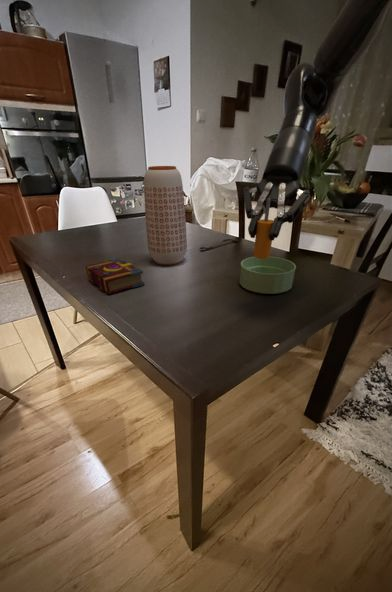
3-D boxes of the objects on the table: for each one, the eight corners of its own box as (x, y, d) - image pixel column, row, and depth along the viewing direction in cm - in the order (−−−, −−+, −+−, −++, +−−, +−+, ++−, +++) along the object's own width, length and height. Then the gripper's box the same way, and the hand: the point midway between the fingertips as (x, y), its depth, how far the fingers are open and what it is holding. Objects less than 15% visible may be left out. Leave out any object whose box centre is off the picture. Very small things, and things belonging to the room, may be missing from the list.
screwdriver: (268, 254, 61) (276, 197, 55) (270, 259, 59) (279, 200, 52) (253, 253, 62) (259, 197, 55) (254, 258, 59) (260, 200, 53)
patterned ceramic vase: (189, 266, 95) (187, 167, 79) (149, 269, 93) (139, 168, 77) (184, 254, 106) (182, 165, 89) (149, 256, 104) (139, 165, 88)
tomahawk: (227, 240, 123) (227, 238, 123) (239, 242, 119) (239, 239, 118) (191, 249, 112) (191, 246, 111) (202, 251, 107) (202, 248, 107)
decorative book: (108, 296, 76) (104, 278, 74) (86, 279, 87) (82, 262, 84) (144, 285, 82) (142, 268, 79) (120, 270, 92) (117, 255, 90)
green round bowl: (287, 276, 87) (291, 256, 84) (296, 296, 75) (300, 275, 72) (238, 274, 89) (240, 255, 85) (239, 294, 77) (241, 273, 73)
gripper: (251, 145, 57) (224, 221, 55) (325, 144, 52) (297, 229, 50) (256, 174, 64) (232, 242, 62) (321, 176, 58) (297, 251, 57)
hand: (261, 236), depth 56 cm, fingers closed on screwdriver, 3 cm apart
